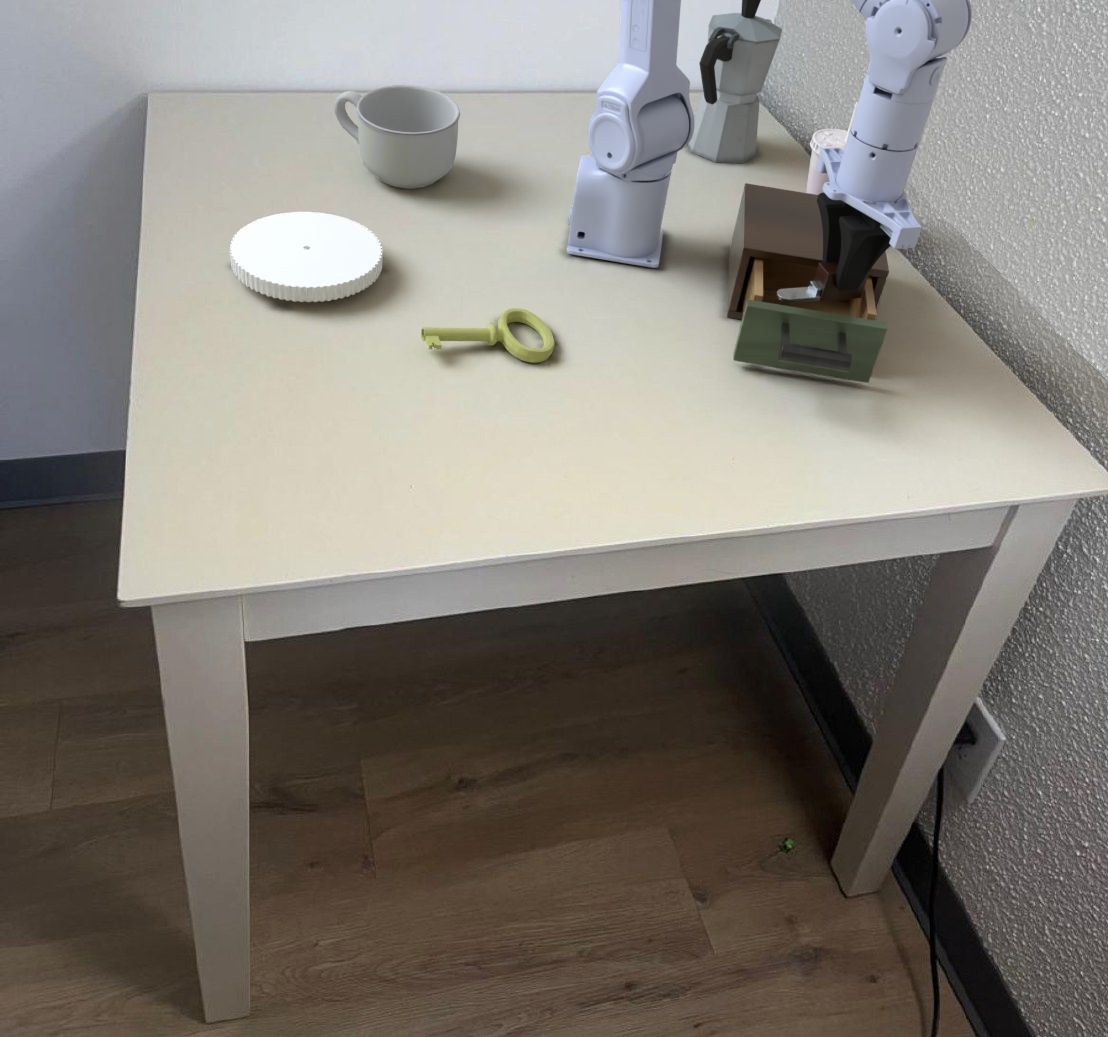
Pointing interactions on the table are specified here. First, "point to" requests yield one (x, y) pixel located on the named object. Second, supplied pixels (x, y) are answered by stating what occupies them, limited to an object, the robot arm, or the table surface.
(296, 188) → the table surface
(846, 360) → the drawer
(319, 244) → the white gear
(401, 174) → the teacup
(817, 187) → the smoothie
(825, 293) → the knife
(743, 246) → the cabinet
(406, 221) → the table surface
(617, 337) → the table surface
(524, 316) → the key
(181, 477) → the table surface
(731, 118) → the coffee maker
